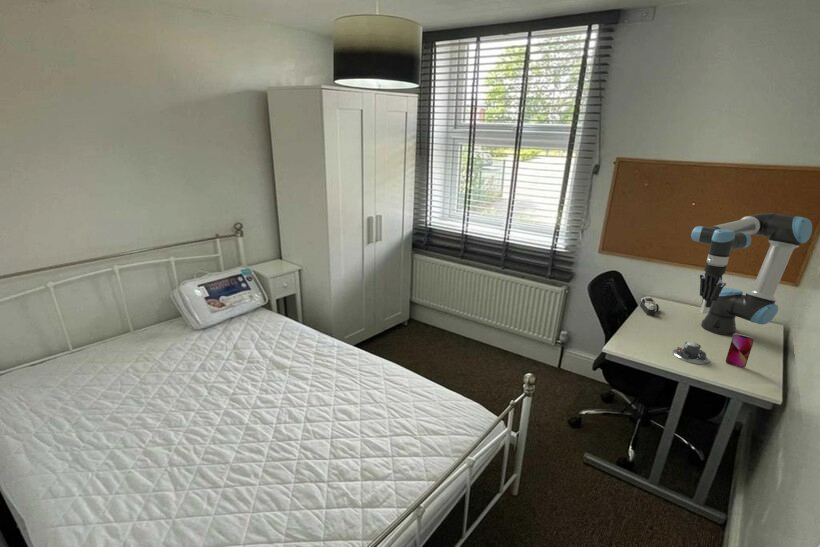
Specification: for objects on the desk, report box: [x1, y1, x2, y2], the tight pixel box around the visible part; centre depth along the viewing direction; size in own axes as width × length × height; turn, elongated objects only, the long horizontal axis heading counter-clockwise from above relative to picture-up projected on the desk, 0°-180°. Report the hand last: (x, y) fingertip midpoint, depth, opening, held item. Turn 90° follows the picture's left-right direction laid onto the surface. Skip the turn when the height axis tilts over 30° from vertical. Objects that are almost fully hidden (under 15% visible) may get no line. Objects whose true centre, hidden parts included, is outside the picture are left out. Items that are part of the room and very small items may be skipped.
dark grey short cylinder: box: [682, 341, 702, 359], centre depth 187 cm, size 7×6×6 cm
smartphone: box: [725, 332, 755, 369], centre depth 180 cm, size 7×1×15 cm, turn 50°
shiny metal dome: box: [672, 346, 709, 365], centre depth 188 cm, size 14×14×3 cm
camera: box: [639, 296, 660, 317], centre depth 237 cm, size 16×9×10 cm, turn 168°
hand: (704, 312), depth 185 cm, fingers closed
